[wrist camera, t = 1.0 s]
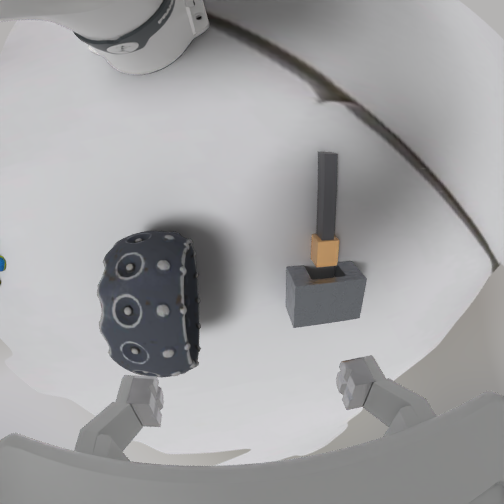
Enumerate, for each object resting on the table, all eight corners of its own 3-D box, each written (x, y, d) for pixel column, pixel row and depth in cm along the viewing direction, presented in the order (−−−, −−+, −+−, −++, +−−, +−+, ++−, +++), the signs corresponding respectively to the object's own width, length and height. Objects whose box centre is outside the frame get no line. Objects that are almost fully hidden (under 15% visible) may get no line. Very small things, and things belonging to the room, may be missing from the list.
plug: (313, 151, 41) (320, 153, 38) (335, 152, 42) (343, 154, 38) (310, 258, 49) (316, 267, 46) (330, 256, 49) (337, 265, 46)
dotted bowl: (195, 211, 43) (177, 274, 25) (203, 318, 51) (199, 406, 33) (129, 215, 42) (74, 276, 24) (147, 318, 50) (123, 403, 32)
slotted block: (286, 267, 49) (295, 286, 43) (351, 260, 50) (366, 278, 44) (285, 305, 52) (293, 327, 46) (346, 298, 53) (359, 318, 47)
